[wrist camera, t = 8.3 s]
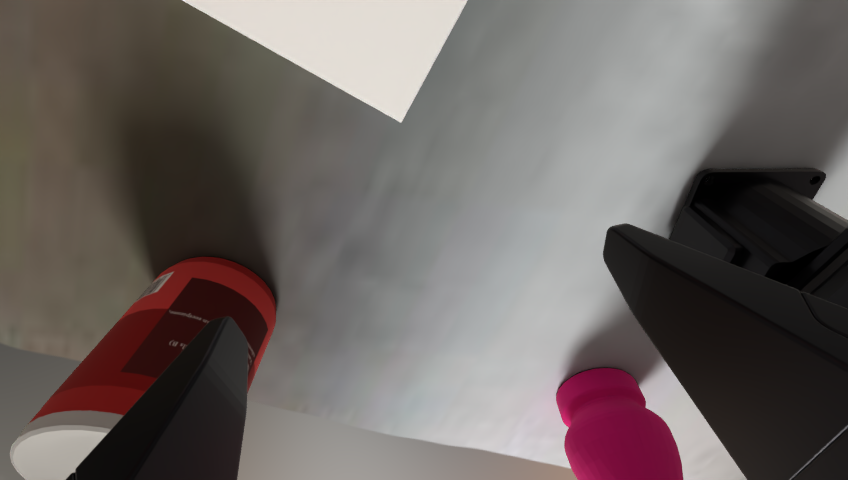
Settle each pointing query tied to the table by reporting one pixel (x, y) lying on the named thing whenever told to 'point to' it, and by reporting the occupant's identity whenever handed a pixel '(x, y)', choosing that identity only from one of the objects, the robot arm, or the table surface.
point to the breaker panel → (350, 40)
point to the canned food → (142, 359)
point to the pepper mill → (615, 430)
